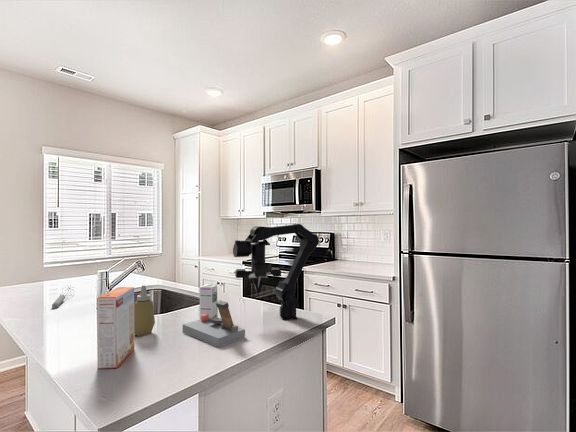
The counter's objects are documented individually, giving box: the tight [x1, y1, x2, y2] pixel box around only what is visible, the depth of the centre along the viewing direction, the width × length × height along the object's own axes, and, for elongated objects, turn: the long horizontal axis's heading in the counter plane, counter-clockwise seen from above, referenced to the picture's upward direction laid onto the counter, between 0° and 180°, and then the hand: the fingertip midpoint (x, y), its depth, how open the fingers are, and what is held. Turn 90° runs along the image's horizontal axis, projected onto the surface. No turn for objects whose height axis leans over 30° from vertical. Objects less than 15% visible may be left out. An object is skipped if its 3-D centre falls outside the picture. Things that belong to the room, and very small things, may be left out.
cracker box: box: [96, 286, 135, 370], centre depth 103 cm, size 14×6×21 cm, turn 5°
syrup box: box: [199, 283, 219, 320], centre depth 144 cm, size 6×6×14 cm
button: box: [201, 314, 209, 322], centre depth 131 cm, size 3×3×2 cm
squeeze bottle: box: [134, 284, 156, 337], centre depth 125 cm, size 8×8×18 cm
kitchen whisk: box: [51, 285, 74, 310], centre depth 172 cm, size 6×34×6 cm, turn 23°
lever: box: [216, 299, 235, 330], centre depth 120 cm, size 2×4×11 cm, turn 49°
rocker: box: [208, 318, 223, 324], centre depth 127 cm, size 5×4×1 cm
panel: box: [182, 317, 246, 348], centre depth 124 cm, size 12×22×5 cm, turn 49°
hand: (258, 293), depth 140 cm, fingers closed
